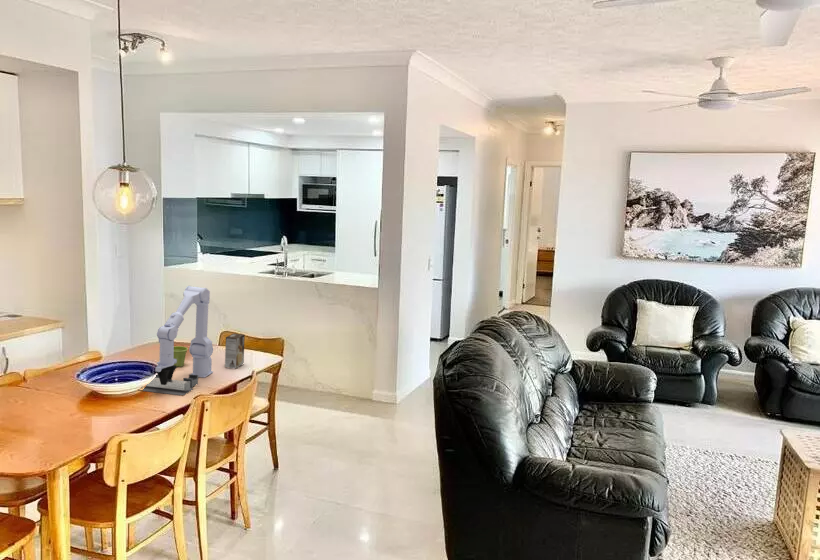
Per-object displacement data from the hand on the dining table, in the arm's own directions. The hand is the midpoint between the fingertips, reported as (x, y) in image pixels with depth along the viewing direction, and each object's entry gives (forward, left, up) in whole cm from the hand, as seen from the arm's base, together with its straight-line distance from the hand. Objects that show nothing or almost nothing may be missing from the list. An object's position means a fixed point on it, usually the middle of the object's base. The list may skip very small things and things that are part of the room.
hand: (165, 383), depth 266 cm
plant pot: (-35, -13, -3) cm, 37 cm away
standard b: (-9, -7, -3) cm, 12 cm away
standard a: (-9, +7, -3) cm, 12 cm away
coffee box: (-44, +13, -3) cm, 46 cm away
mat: (0, 0, -3) cm, 3 cm away
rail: (0, 0, -2) cm, 2 cm away
